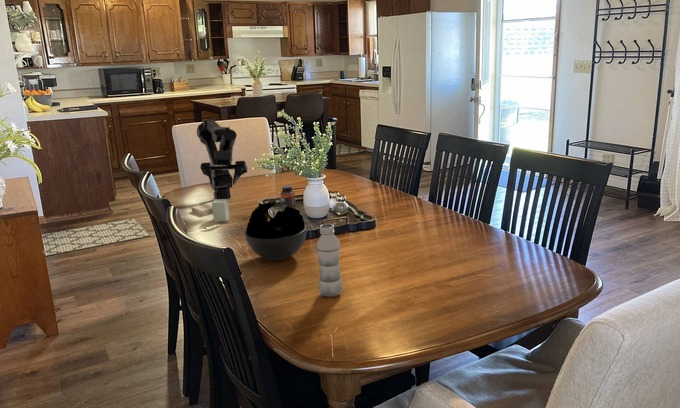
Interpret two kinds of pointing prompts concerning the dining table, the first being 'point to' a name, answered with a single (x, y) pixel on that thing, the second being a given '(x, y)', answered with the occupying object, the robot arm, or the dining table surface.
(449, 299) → the dining table surface
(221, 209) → the sage block
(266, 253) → the bowl of black rocks
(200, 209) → the birch slab
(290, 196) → the supplement bottle
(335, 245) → the plastic bottle
